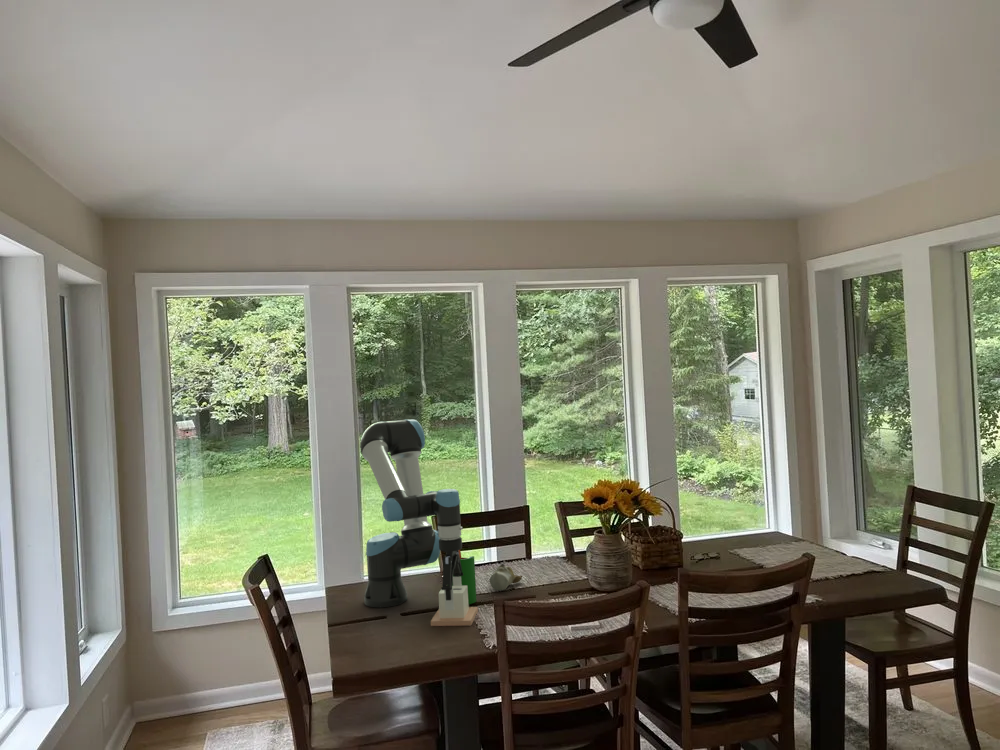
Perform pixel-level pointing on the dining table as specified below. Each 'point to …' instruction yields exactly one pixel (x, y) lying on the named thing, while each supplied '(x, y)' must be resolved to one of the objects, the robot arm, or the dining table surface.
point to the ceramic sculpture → (503, 578)
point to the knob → (455, 603)
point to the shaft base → (455, 619)
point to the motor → (468, 577)
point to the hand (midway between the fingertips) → (454, 602)
